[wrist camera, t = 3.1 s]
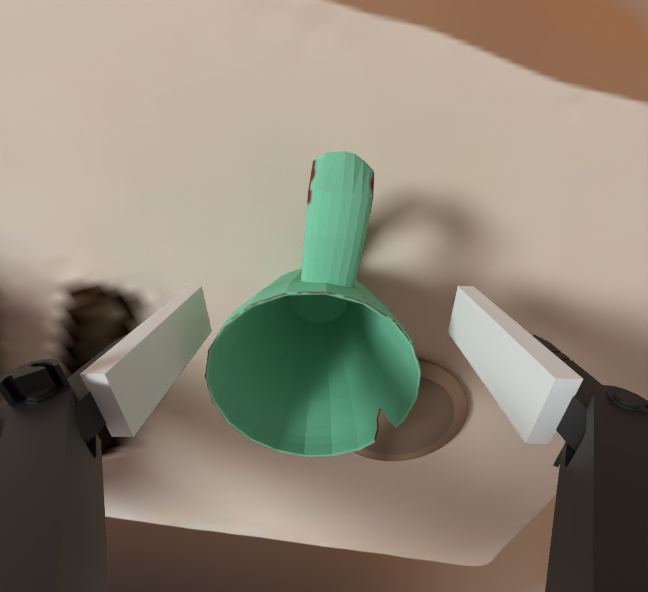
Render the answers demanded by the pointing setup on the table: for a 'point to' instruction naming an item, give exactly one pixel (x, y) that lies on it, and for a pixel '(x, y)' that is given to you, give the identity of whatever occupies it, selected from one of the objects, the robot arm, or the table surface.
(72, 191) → the table surface
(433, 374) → the plate
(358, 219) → the mug
